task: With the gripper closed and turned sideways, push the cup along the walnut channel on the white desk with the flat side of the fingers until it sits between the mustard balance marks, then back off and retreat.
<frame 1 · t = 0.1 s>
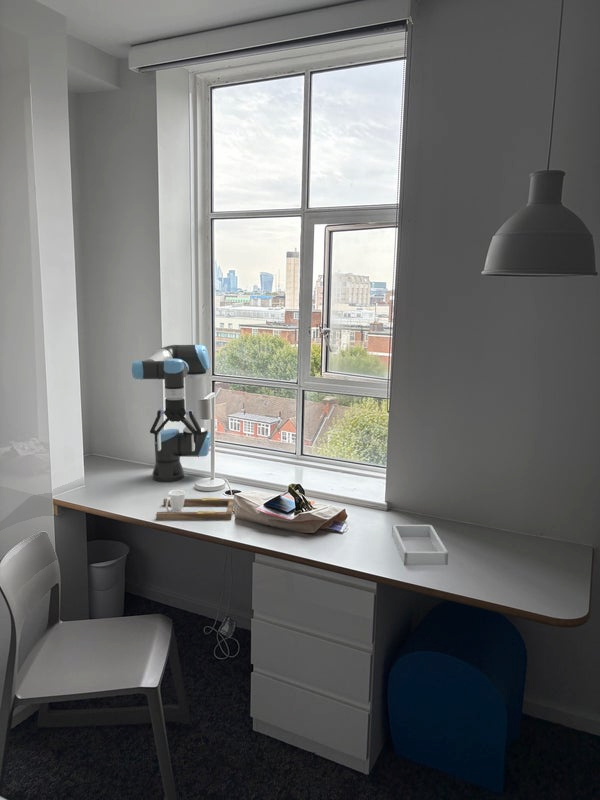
hand: (176, 450, 245), 28 cm above the table, fingers open, 13 cm apart
channel: (194, 511, 255), on the table
cup: (175, 512, 255), on the table
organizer: (418, 549, 221), on the table
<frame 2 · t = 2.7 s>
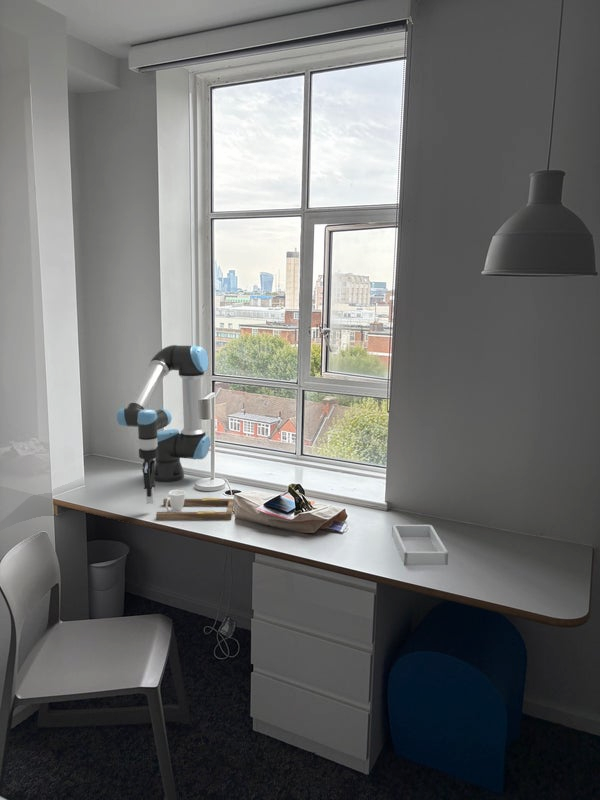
hand: (150, 502, 253), 4 cm above the table, fingers closed
nothing on the table moved.
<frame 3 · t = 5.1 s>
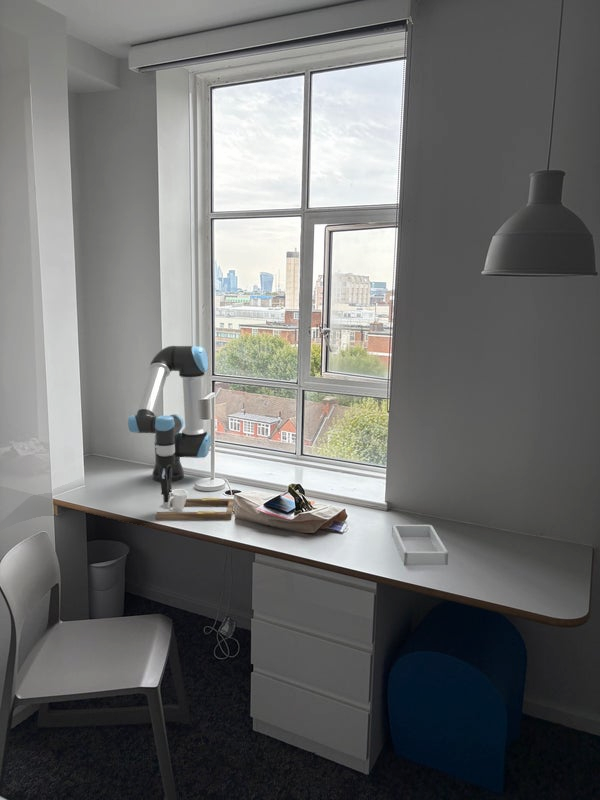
hand: (167, 508, 254), 2 cm above the table, fingers closed
cup: (175, 511, 255), on the table, touching gripper
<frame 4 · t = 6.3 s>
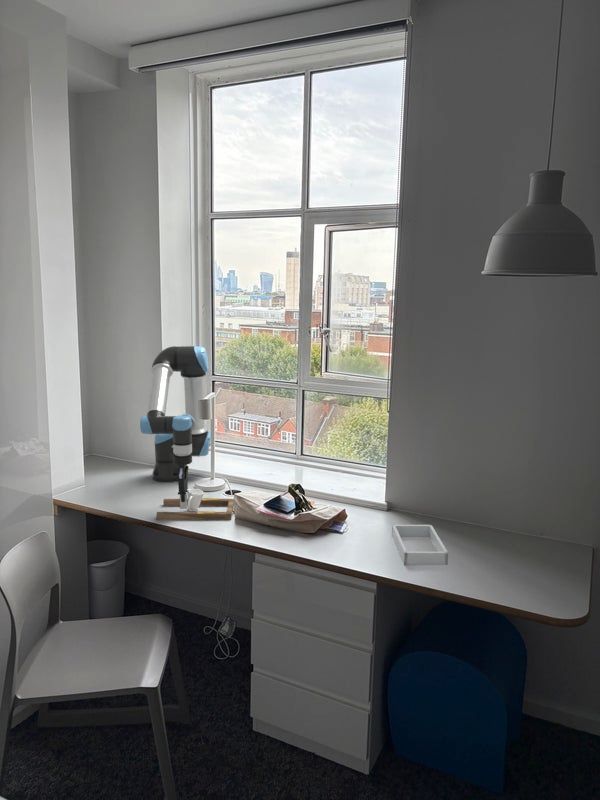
hand: (183, 508, 254), 2 cm above the table, fingers closed
cup: (191, 510, 255), on the table, touching gripper
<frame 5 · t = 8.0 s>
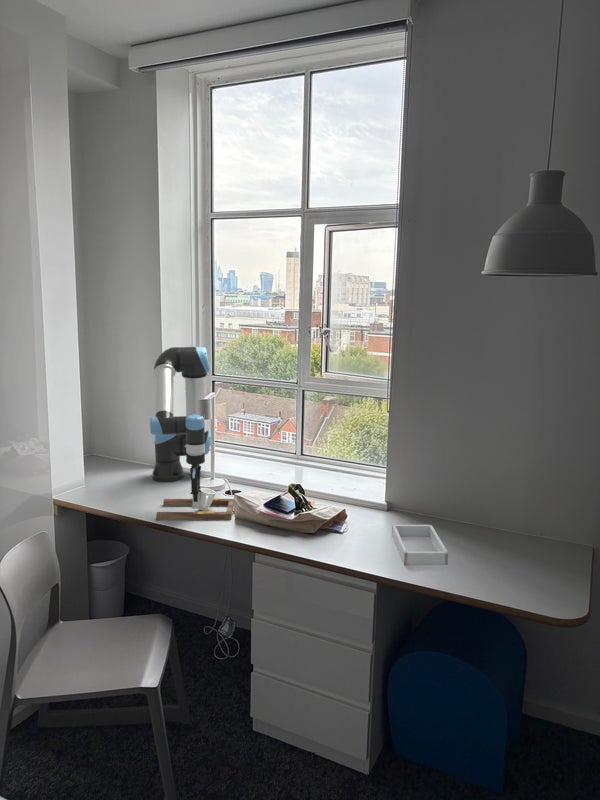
hand: (196, 508, 254), 2 cm above the table, fingers closed
cup: (203, 510, 256), on the table, touching gripper, hand
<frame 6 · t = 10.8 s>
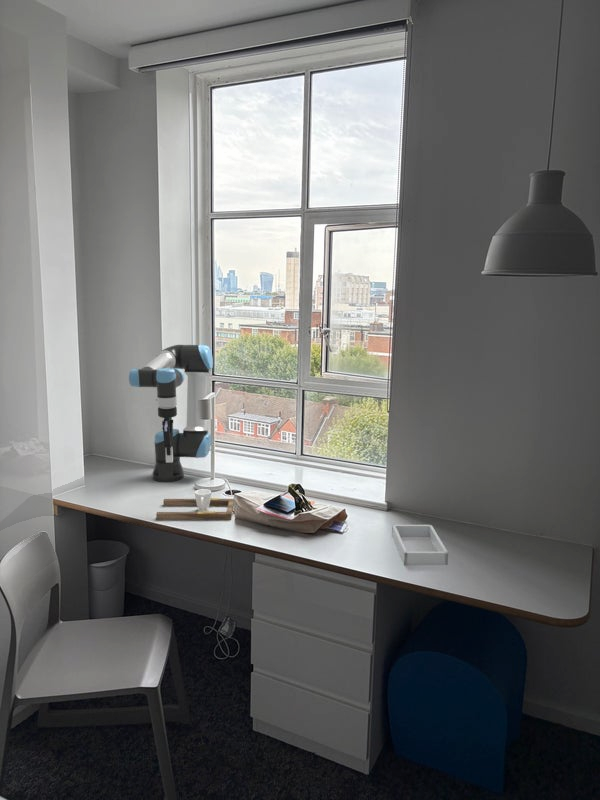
hand: (169, 461, 254), 21 cm above the table, fingers closed
cup: (203, 511, 256), on the table
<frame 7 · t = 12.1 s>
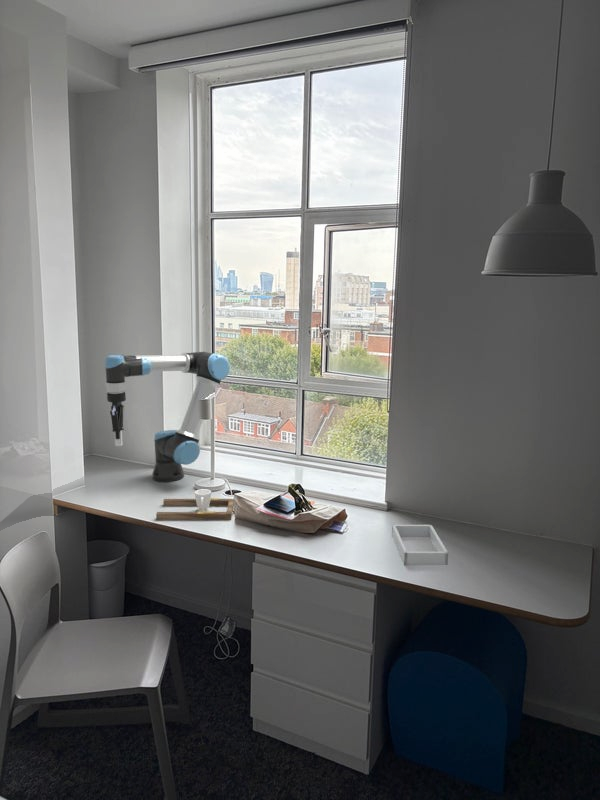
hand: (118, 445, 264), 24 cm above the table, fingers closed
nothing on the table moved.
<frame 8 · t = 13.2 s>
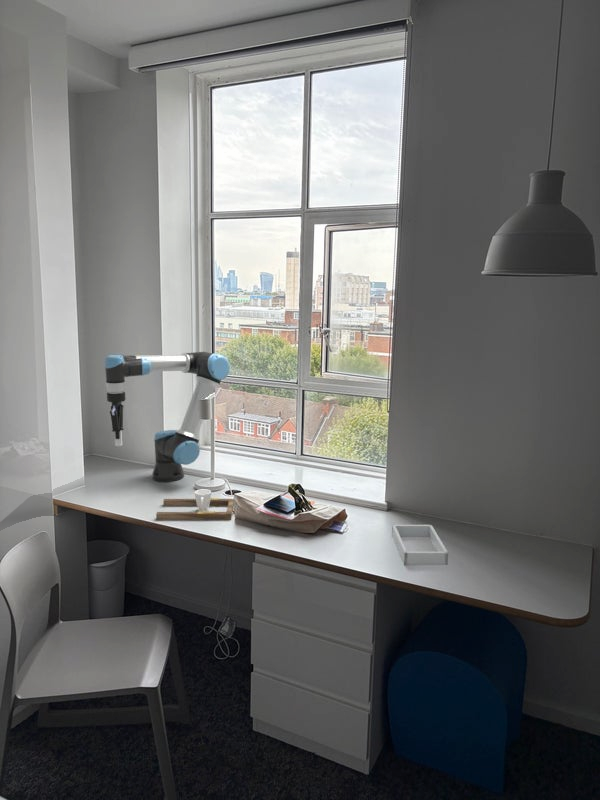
hand: (118, 445, 264), 24 cm above the table, fingers closed
nothing on the table moved.
at the end: cup inside the target area (2.5 cm from its centre), on the table; cup tilted 0° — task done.
